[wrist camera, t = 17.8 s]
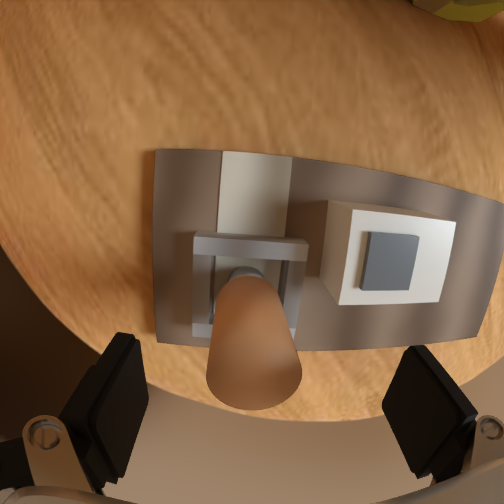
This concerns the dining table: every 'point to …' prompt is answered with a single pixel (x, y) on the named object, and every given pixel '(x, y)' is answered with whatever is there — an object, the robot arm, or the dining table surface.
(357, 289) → the block
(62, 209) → the dining table surface
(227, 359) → the tan rounded cylinder
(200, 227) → the panel
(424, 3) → the toy
